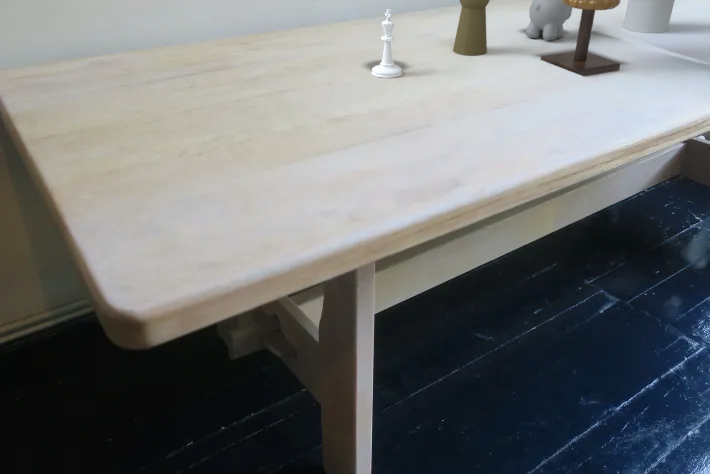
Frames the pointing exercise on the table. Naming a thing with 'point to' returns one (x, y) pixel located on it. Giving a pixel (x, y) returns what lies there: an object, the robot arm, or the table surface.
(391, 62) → the chess piece
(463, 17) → the olive tapered cylinder
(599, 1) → the ring
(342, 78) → the table surface
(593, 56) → the wooden peg stand
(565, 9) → the round bodied animal figurine
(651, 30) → the cup
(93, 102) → the table surface
